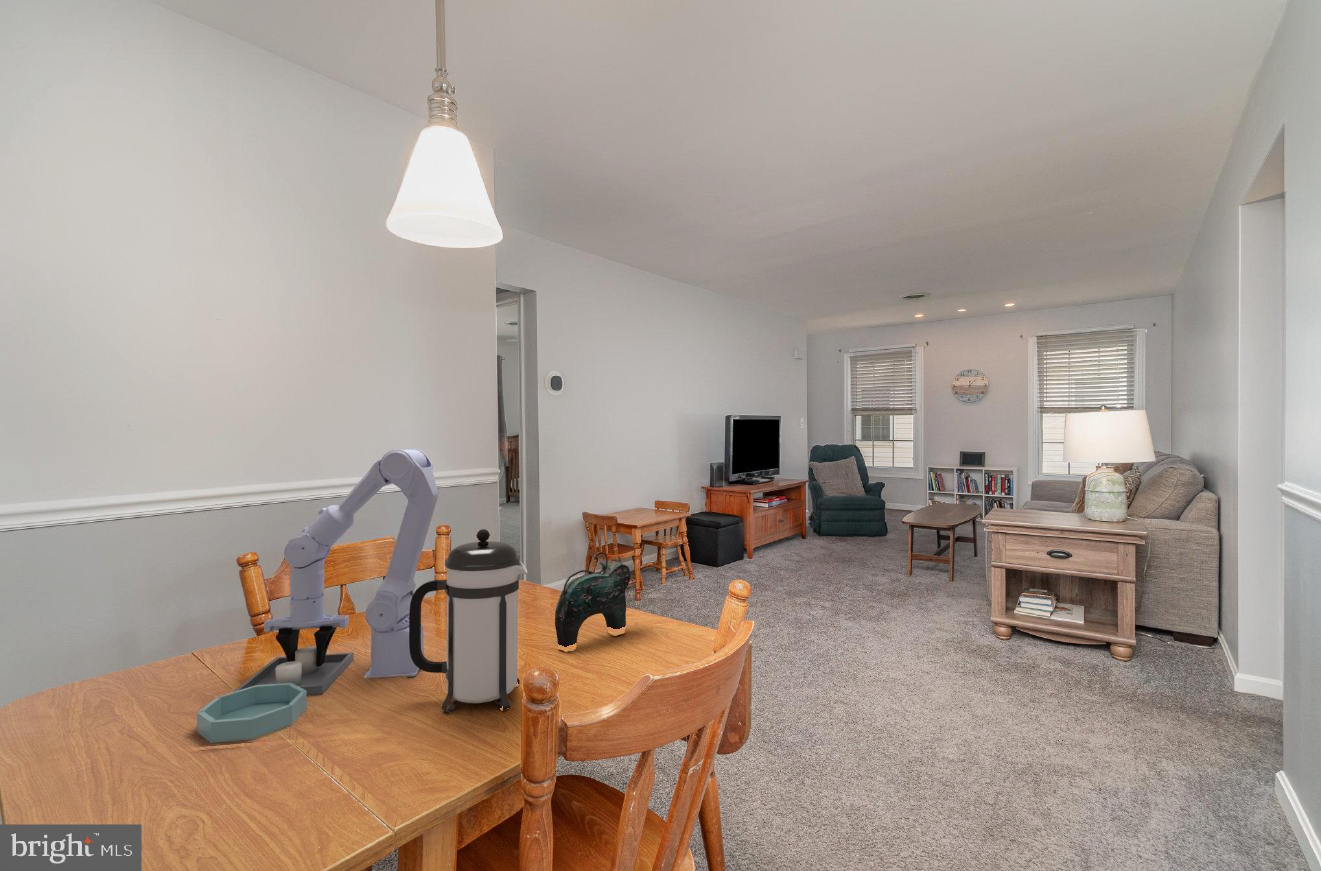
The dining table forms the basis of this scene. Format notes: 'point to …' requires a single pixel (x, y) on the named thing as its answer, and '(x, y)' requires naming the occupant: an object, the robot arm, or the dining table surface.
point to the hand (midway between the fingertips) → (306, 665)
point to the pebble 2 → (307, 659)
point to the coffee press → (475, 622)
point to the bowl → (251, 712)
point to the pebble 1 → (289, 673)
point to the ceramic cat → (592, 600)
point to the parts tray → (310, 682)
